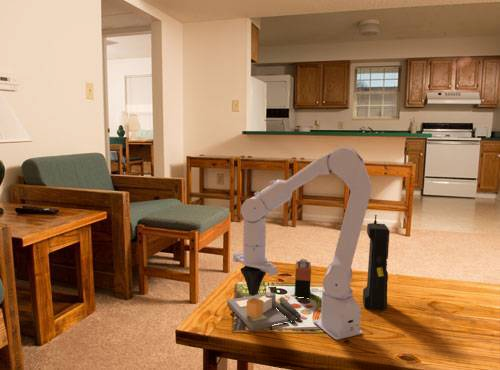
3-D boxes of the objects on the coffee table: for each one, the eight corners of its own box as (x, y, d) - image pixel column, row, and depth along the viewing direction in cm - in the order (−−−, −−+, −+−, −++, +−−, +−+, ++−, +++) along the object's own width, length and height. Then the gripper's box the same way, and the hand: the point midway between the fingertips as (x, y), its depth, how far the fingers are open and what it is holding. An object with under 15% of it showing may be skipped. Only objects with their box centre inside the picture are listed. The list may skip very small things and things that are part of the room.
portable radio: (388, 312, 106) (394, 221, 102) (364, 310, 107) (370, 220, 104) (384, 300, 113) (390, 215, 110) (362, 298, 114) (368, 214, 111)
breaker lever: (277, 305, 105) (277, 292, 105) (256, 318, 97) (256, 304, 97) (268, 302, 107) (268, 289, 107) (246, 315, 99) (246, 301, 98)
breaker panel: (291, 322, 99) (291, 317, 99) (251, 330, 94) (251, 325, 94) (262, 298, 113) (262, 293, 113) (227, 304, 109) (227, 298, 108)
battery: (309, 290, 119) (310, 258, 118) (309, 299, 113) (311, 266, 111) (294, 289, 120) (296, 257, 119) (294, 298, 113) (295, 265, 112)
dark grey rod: (297, 323, 99) (297, 317, 98) (292, 324, 98) (292, 318, 98) (268, 298, 113) (268, 293, 112) (263, 299, 112) (263, 294, 112)
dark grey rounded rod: (301, 320, 100) (302, 314, 100) (296, 321, 100) (296, 315, 100) (283, 301, 111) (283, 296, 111) (278, 302, 111) (278, 296, 110)
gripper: (285, 246, 98) (284, 298, 100) (247, 235, 109) (246, 282, 111) (265, 252, 94) (264, 306, 95) (227, 239, 104) (226, 288, 106)
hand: (253, 294), depth 103 cm, fingers closed
